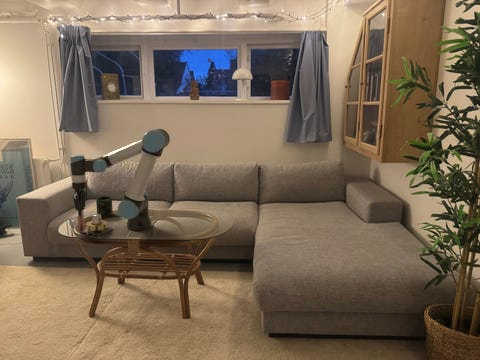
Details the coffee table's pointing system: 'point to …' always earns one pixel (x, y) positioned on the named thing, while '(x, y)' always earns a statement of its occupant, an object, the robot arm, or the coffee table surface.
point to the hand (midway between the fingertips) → (81, 220)
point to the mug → (104, 206)
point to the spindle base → (96, 221)
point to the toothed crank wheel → (91, 227)
